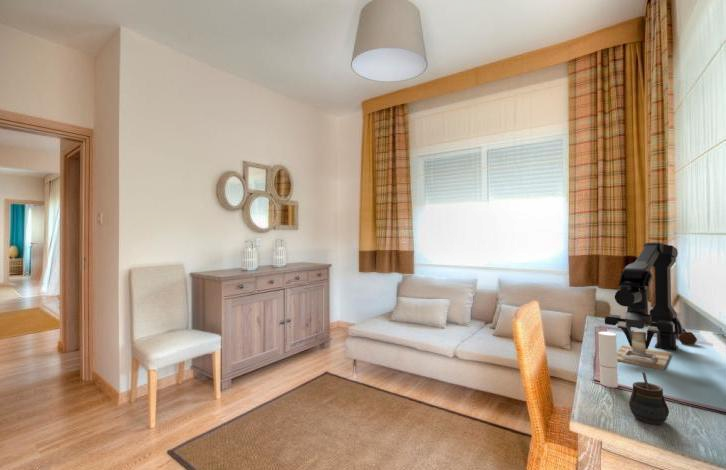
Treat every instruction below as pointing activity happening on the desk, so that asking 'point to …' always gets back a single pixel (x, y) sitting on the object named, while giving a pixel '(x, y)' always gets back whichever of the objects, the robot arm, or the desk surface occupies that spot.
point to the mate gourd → (648, 402)
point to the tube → (608, 359)
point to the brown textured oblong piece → (686, 337)
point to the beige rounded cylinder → (638, 343)
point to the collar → (653, 357)
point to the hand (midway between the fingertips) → (639, 347)
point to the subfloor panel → (659, 361)
